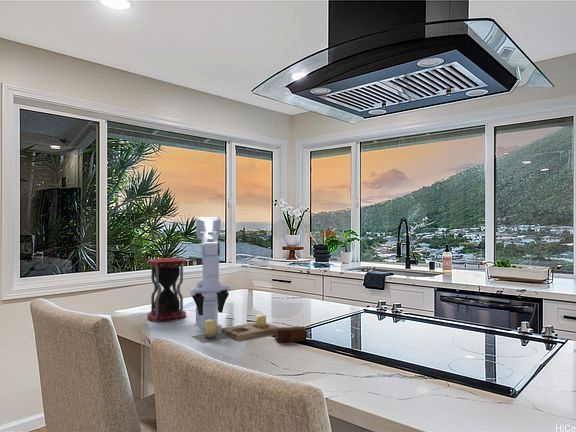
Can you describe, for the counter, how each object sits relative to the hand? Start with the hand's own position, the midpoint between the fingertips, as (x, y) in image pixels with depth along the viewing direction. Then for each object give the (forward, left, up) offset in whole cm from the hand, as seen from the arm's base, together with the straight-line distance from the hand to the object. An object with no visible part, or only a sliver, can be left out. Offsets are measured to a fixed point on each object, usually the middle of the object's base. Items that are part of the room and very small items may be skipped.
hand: (210, 313), depth 147 cm
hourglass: (-40, -1, -9) cm, 41 cm away
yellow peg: (0, 0, -8) cm, 9 cm away
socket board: (+3, +15, -9) cm, 18 cm away
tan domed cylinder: (+3, +20, -9) cm, 22 cm away
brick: (+19, +21, -9) cm, 30 cm away
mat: (-1, 0, -9) cm, 9 cm away
